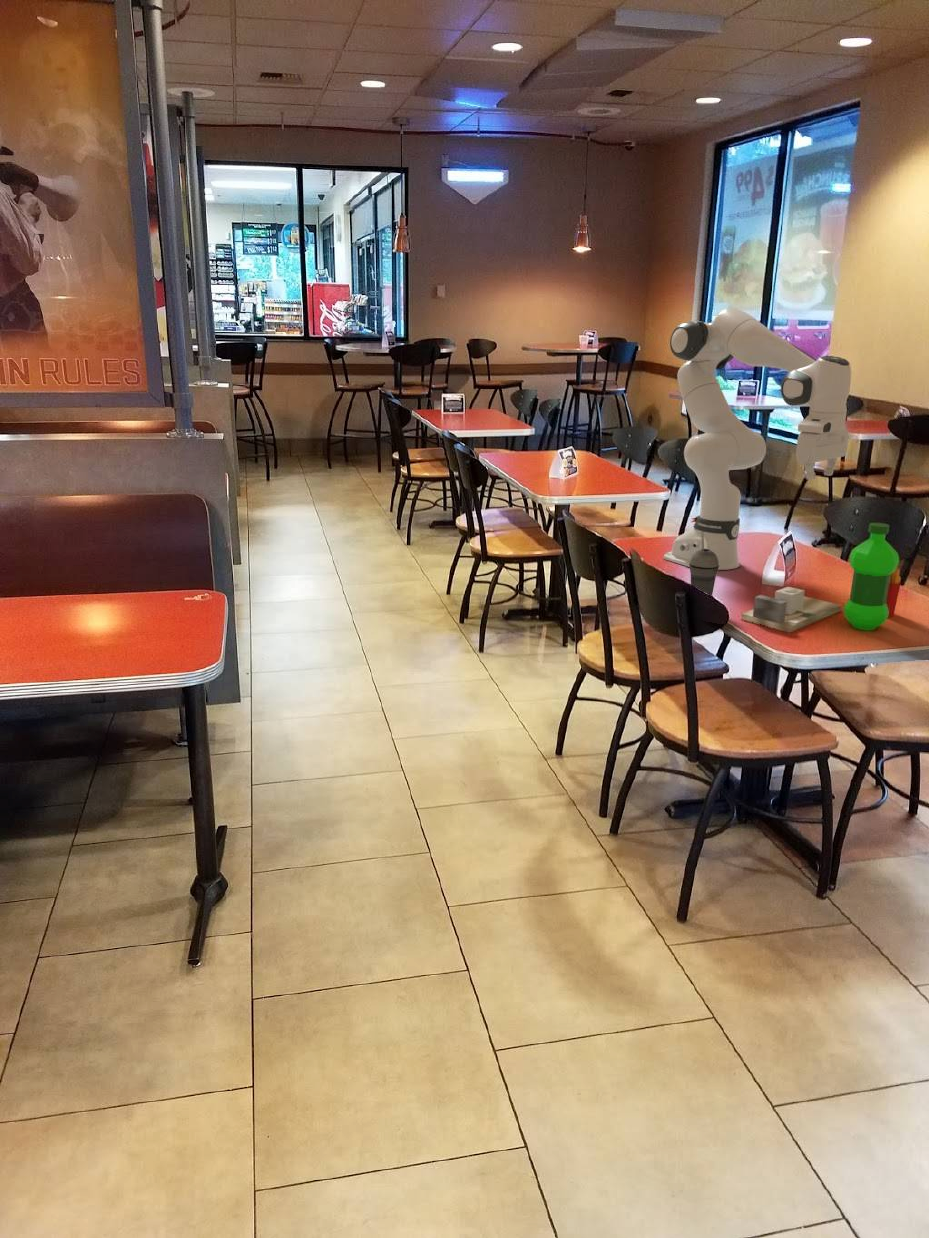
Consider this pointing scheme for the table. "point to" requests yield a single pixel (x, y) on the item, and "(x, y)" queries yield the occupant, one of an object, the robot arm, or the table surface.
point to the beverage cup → (704, 569)
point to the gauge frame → (775, 617)
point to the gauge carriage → (791, 599)
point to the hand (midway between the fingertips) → (819, 477)
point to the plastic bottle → (871, 579)
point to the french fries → (893, 592)
